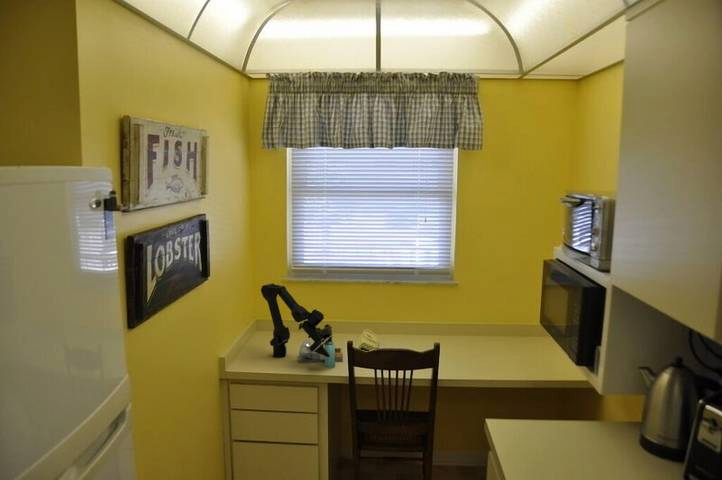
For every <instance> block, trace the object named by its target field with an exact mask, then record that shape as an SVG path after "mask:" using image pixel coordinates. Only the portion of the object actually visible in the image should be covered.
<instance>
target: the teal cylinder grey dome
mask: <svg viewBox="0 0 722 480" xmlns="http://www.w3.org/2000/svg"><path fill="white" fill-rule="evenodd" d="M324 343H325V342H324ZM335 346H336V343H335V342H333V341H332V342H331V341H329V342H326V343H325V345H324V348H325V350H326V351H327V352H328V354H329V355H330V356H329V357H326V356H325V362H324V367H325V368H326V367H327V369H332V368H335V367H336V362H335V348H336V347H335Z"/></svg>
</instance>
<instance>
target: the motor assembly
mask: <svg viewBox="0 0 722 480" xmlns="http://www.w3.org/2000/svg"><path fill="white" fill-rule="evenodd" d="M313 343H314V342H312V341H311V340H309V339H307V340H306V339H305V340H303V341H302V342H301V344H300V347H299V352H298V353H299V354H298V355H299V356H298V359H297V362H298V363H325V356H324V355H321V354H319V353H316V352H314V351H315V350H314V351H313V352H311V350H310V346H311V345H312V344H313ZM335 348H336V351H335V363H343V361H344V360H343V347H335Z"/></svg>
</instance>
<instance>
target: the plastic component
mask: <svg viewBox="0 0 722 480" xmlns="http://www.w3.org/2000/svg"><path fill="white" fill-rule="evenodd" d="M378 346H379V335H377V333H375V332H373V331H372V330H370V329H368V328H365V329H364V330H363V331H362V333H361V335H360V336H359V339H358V340H357V342H356V346H355V349H356V348H359V349H360V350H361V349H362V348H364V349H365V350H367V351H369V350H372V349H376V350H377V349H378Z"/></svg>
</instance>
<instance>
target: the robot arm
mask: <svg viewBox="0 0 722 480" xmlns="http://www.w3.org/2000/svg"><path fill="white" fill-rule="evenodd" d="M260 293H261V295H262V298H264V300H265V301H267V304H268V308H269V314H270V317H271V320H272V323H273V332H272V335H273V337H272V338H271V340H270V341H269V343H270V344H269V346H271V347H272V351H273V352H272V354H273V355H272V358H285V357H286V355H287V353H288V352H287V351H288V350H287V345H286V344H287V343H289V341H290V338H291V332H290V328H289V327H288V326H287V327H286V326H285V325H284V322H283V318H282V314H281V310H280V308H279V307H280V306H279V303H278V300H277V298H278V297H280V299H281V300H282V302H284V304H285V305H286V307H288V309H289V310H290V314H291V316H292V318H293V320H294V322H296V323H299V324H298V330H299V331H300V330H303V331H304V332H305V333H306V334H307V335H308V336H307V338H308V339H311V340H312V341H313V342H312V343H313V344H312V345H311V346H310V350H311V352H313V351H314V350H315V351H314V352H316V353H319V354H321V355H324V356H326V357H329V356H330V355H329V354H328V352H327V351H326V350H325V343H326V342H329V341H331V342H333V337H334V336H333V333H332V332H333V329H332V326H331V325H330V324H329V323H326V324H325V325H324V327H323V328H320V327H318V325H319V324H320V323H321V322H323V320H324V319H325V315H324V313H322V312H321V311H319V310H317V309H315V308H314V309H313V310H312V311H311V312H310V311H309V310H307V308H305V307H304V306H302V305H300V304H299V303H298V302H297V301H296V300H295V298H294V297H293V295H291V294H290V292H289V291H288V290H287V288H286V286H285V285H280V284H275V283H268V284H264V285H262V286H261V288H260ZM336 348H337V347H335V351H336Z"/></svg>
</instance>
